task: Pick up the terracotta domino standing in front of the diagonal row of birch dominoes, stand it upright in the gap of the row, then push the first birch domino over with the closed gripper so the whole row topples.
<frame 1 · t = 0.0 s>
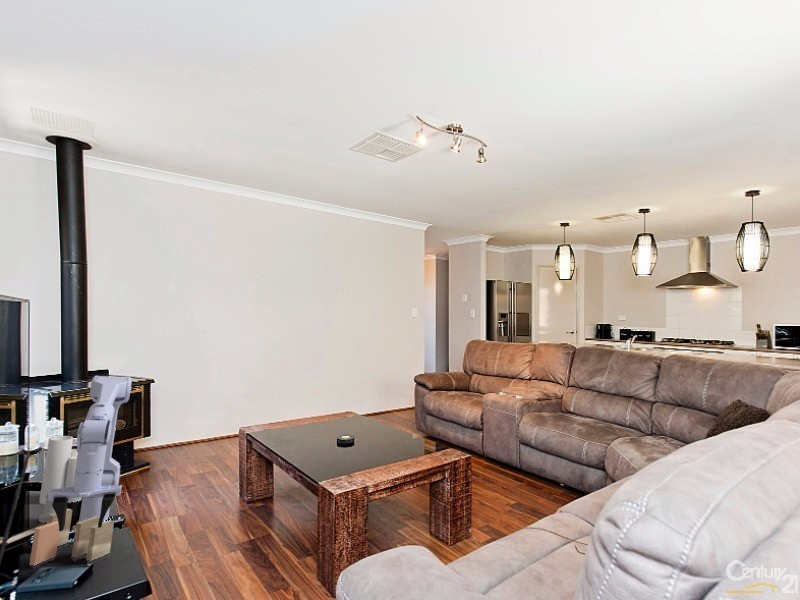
hand: (81, 527, 108), 10 cm above the table, tool pointing down, fingers open, 7 cm apart
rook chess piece: (48, 521, 132), on the table
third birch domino: (83, 556, 114), on the table
first birch domino: (55, 547, 117), on the table
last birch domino: (97, 561, 113), on the table
candle: (60, 500, 147), on the table
terracotta domino: (42, 563, 110), on the table
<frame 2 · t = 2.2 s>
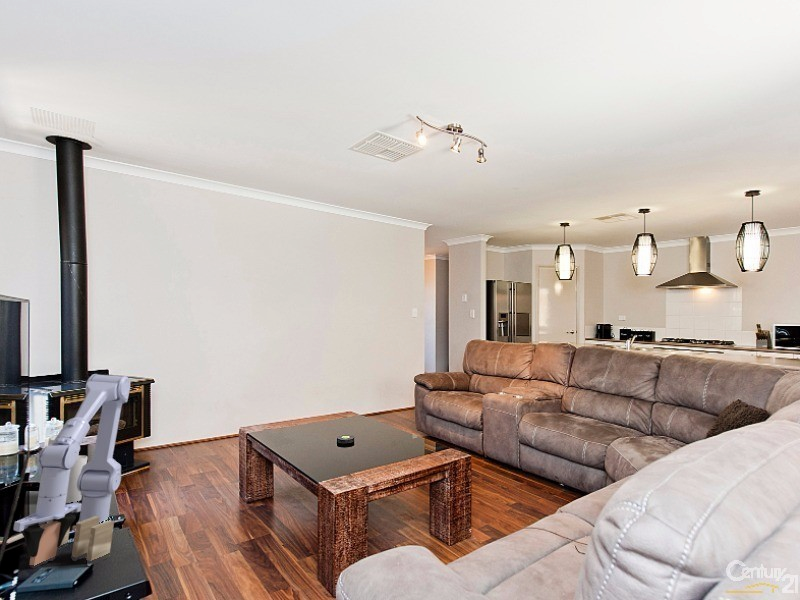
hand: (44, 550, 110), 3 cm above the table, tool pointing down, fingers closed on terracotta domino, 5 cm apart
terracotta domino: (42, 563, 110), on the table, touching gripper
everything else where it was.
when the fingers open (4 cm above the table, at t = 6.2 s): terracotta domino stays where it is, on the table.
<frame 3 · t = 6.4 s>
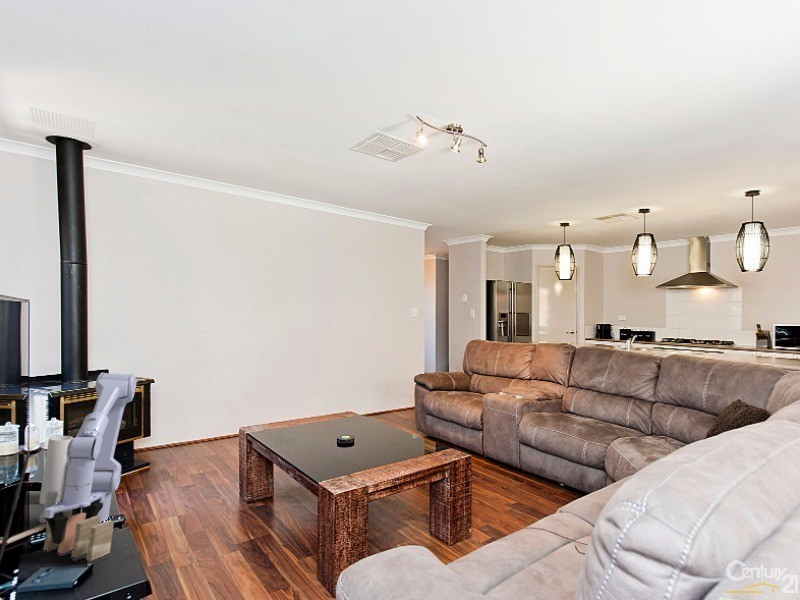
hand: (71, 537, 116), 4 cm above the table, tool pointing down, fingers open, 7 cm apart
terracotta domino: (69, 552, 116), on the table
everything else where it was.
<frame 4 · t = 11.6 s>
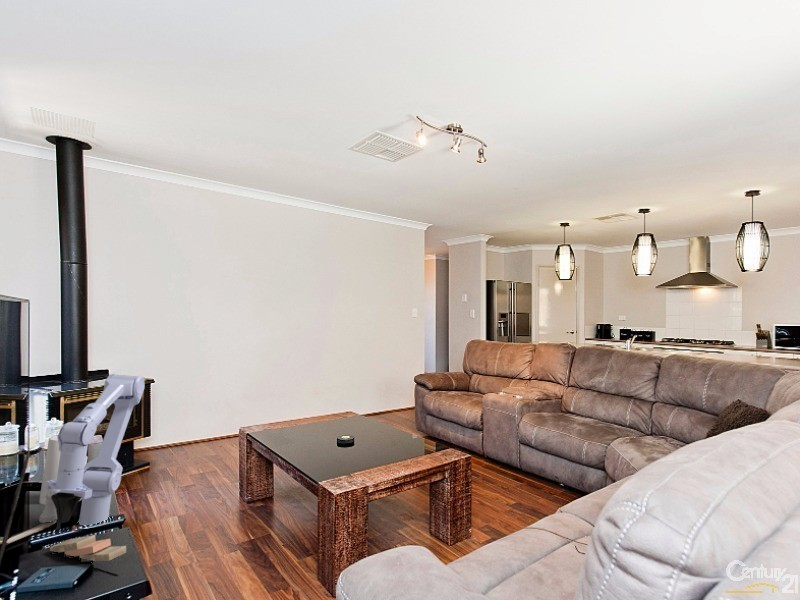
hand: (63, 521, 117), 7 cm above the table, tool pointing down, fingers closed
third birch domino: (89, 554, 114), point 1 cm above the table, tilted 76°, touching terracotta domino
first birch domino: (60, 546, 117), point 1 cm above the table, tilted 71°, touching terracotta domino
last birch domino: (100, 561, 112), on the table, tilted 90°
terracotta domino: (74, 550, 115), point 1 cm above the table, tilted 71°, touching first birch domino, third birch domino
everything else where it was.
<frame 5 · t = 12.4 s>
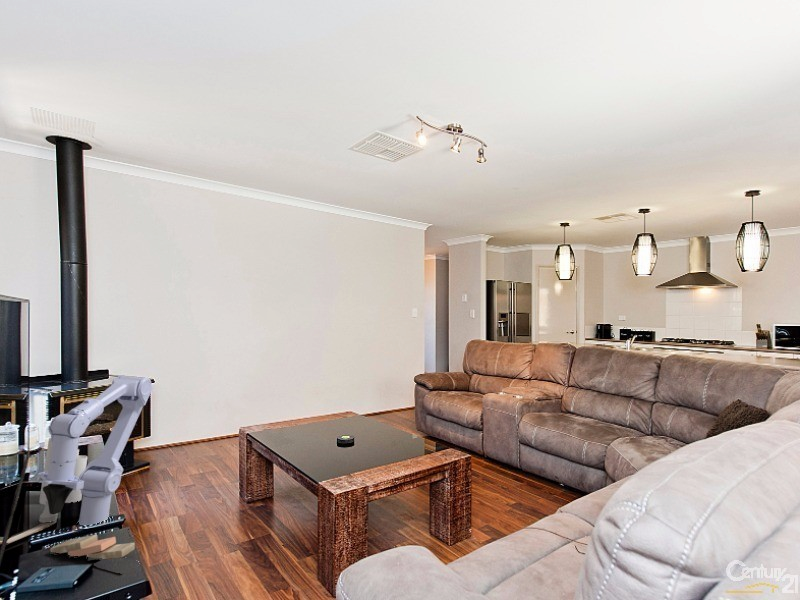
hand: (55, 512, 118), 9 cm above the table, tool pointing down, fingers closed
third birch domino: (94, 553, 114), point 1 cm above the table, tilted 78°, touching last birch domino, terracotta domino
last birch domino: (102, 561, 112), on the table, tilted 90°, touching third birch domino
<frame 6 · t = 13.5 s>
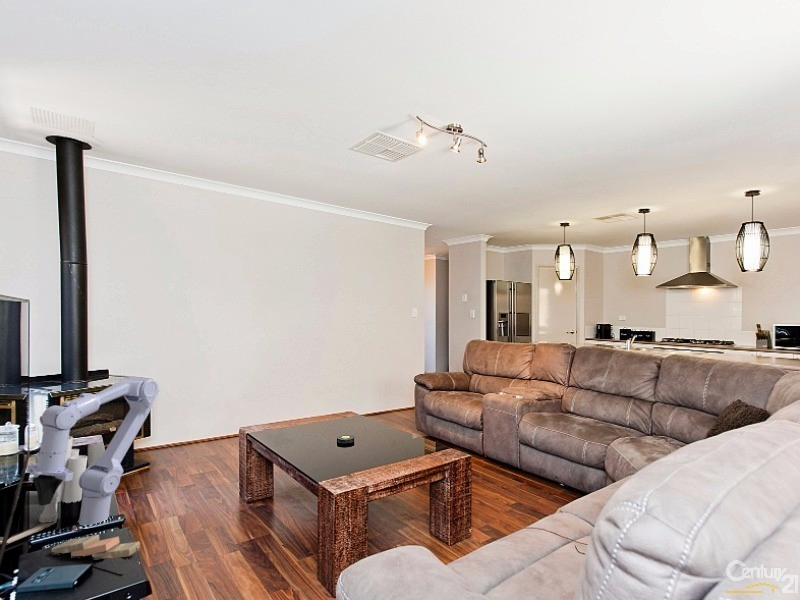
hand: (44, 504, 119), 10 cm above the table, tool pointing down, fingers closed
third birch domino: (98, 553, 114), point 1 cm above the table, tilted 79°, touching terracotta domino
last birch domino: (104, 562, 112), on the table, tilted 89°
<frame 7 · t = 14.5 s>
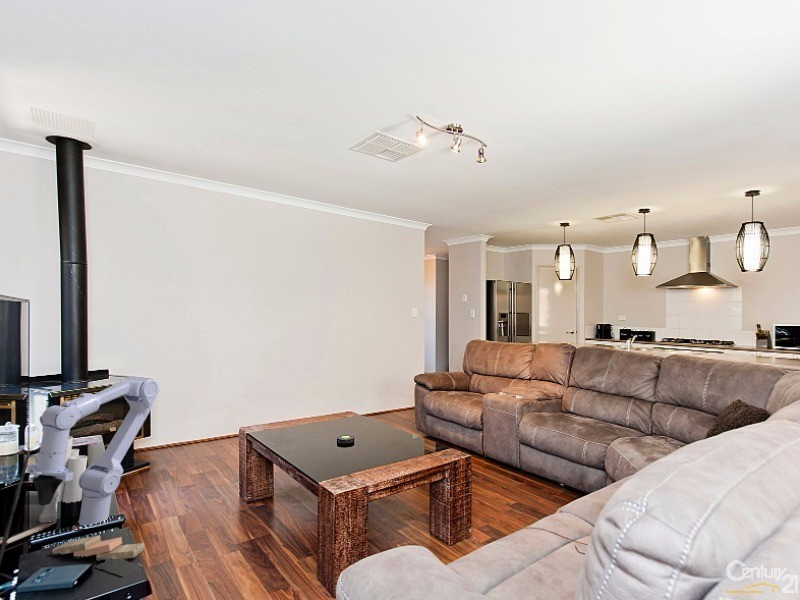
hand: (44, 504, 119), 10 cm above the table, tool pointing down, fingers closed
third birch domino: (102, 553, 114), point 1 cm above the table, tilted 80°, touching terracotta domino
terracotta domino: (80, 551, 115), point 1 cm above the table, tilted 73°, touching first birch domino, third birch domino
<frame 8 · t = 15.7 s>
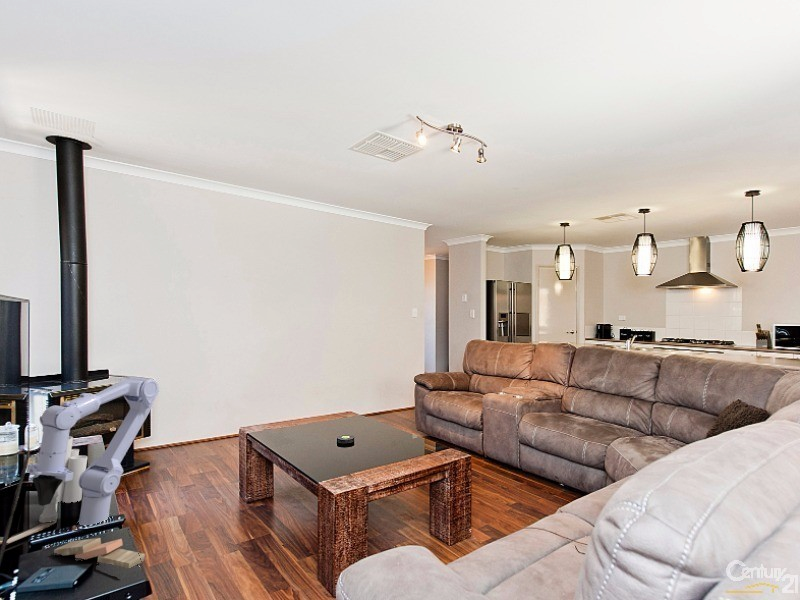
hand: (44, 504, 119), 10 cm above the table, tool pointing down, fingers closed
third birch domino: (106, 555, 112), point 2 cm above the table, tilted 90°, touching terracotta domino
terracotta domino: (84, 553, 114), point 1 cm above the table, tilted 68°, touching first birch domino, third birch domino
at the end: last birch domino tilted 90°; terracotta domino tilted 68°; terracotta domino inside the target area (2.2 cm from its centre), point 0.8 cm above the table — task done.
